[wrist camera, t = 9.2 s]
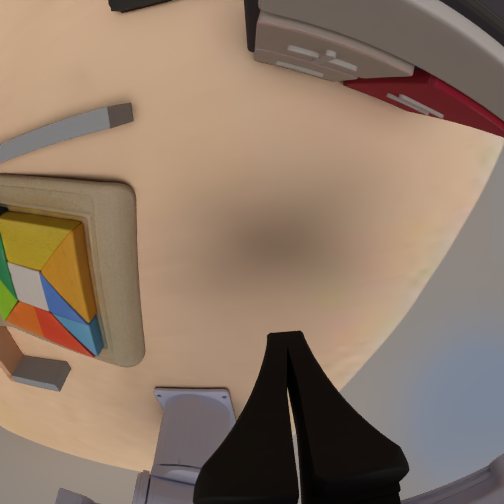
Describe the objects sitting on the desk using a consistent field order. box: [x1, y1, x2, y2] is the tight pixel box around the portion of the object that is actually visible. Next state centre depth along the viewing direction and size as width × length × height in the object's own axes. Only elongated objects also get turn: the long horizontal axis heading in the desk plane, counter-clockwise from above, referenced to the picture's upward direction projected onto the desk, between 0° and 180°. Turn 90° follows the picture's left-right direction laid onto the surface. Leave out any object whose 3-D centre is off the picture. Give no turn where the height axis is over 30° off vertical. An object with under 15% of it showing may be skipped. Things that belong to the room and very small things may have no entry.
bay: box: [0, 103, 133, 392], centre depth 21 cm, size 24×24×4 cm
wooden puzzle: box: [0, 174, 145, 367], centre depth 21 cm, size 18×19×4 cm
